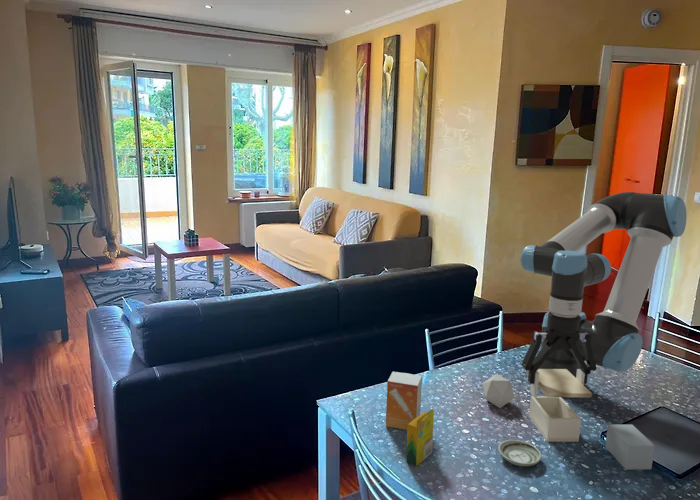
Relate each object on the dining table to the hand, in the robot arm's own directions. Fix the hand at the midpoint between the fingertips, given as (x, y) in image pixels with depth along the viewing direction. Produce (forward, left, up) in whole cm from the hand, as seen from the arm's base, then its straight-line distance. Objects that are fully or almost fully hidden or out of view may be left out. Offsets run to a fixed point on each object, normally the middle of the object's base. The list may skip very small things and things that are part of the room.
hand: (555, 394), depth 133 cm
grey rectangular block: (+18, 0, -10) cm, 20 cm away
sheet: (0, 0, +3) cm, 3 cm away
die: (-17, +2, -10) cm, 20 cm away
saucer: (0, -19, -10) cm, 21 cm away
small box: (-29, -26, -10) cm, 40 cm away
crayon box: (-17, -35, -10) cm, 40 cm away
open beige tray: (0, 0, -10) cm, 10 cm away
